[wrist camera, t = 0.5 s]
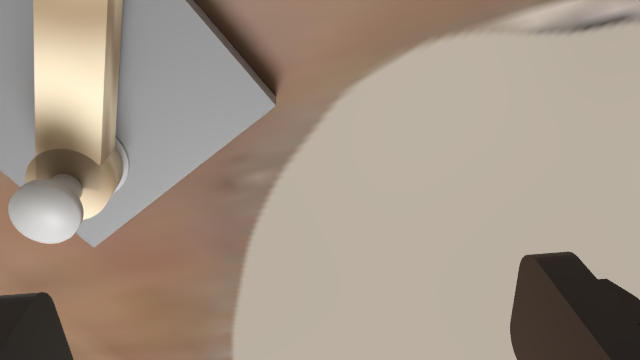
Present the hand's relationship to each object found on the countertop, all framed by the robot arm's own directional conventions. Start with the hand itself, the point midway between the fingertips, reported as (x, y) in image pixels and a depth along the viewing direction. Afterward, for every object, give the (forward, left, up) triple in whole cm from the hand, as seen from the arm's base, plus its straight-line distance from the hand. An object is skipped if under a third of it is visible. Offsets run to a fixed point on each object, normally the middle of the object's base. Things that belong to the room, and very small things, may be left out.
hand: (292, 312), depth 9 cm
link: (-7, -7, -19) cm, 21 cm away
